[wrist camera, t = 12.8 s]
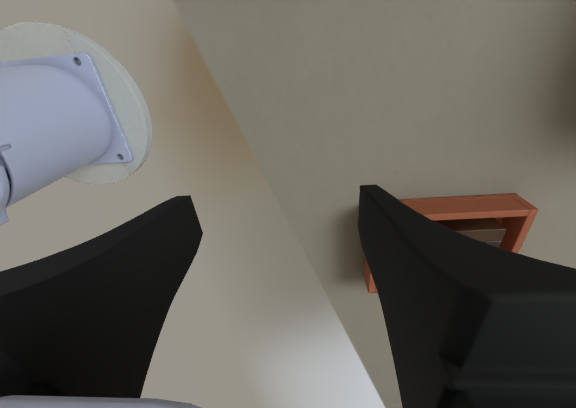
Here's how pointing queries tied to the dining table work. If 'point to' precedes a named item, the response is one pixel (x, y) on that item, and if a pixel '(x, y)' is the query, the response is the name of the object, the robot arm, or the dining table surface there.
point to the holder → (499, 206)
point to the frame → (478, 229)
